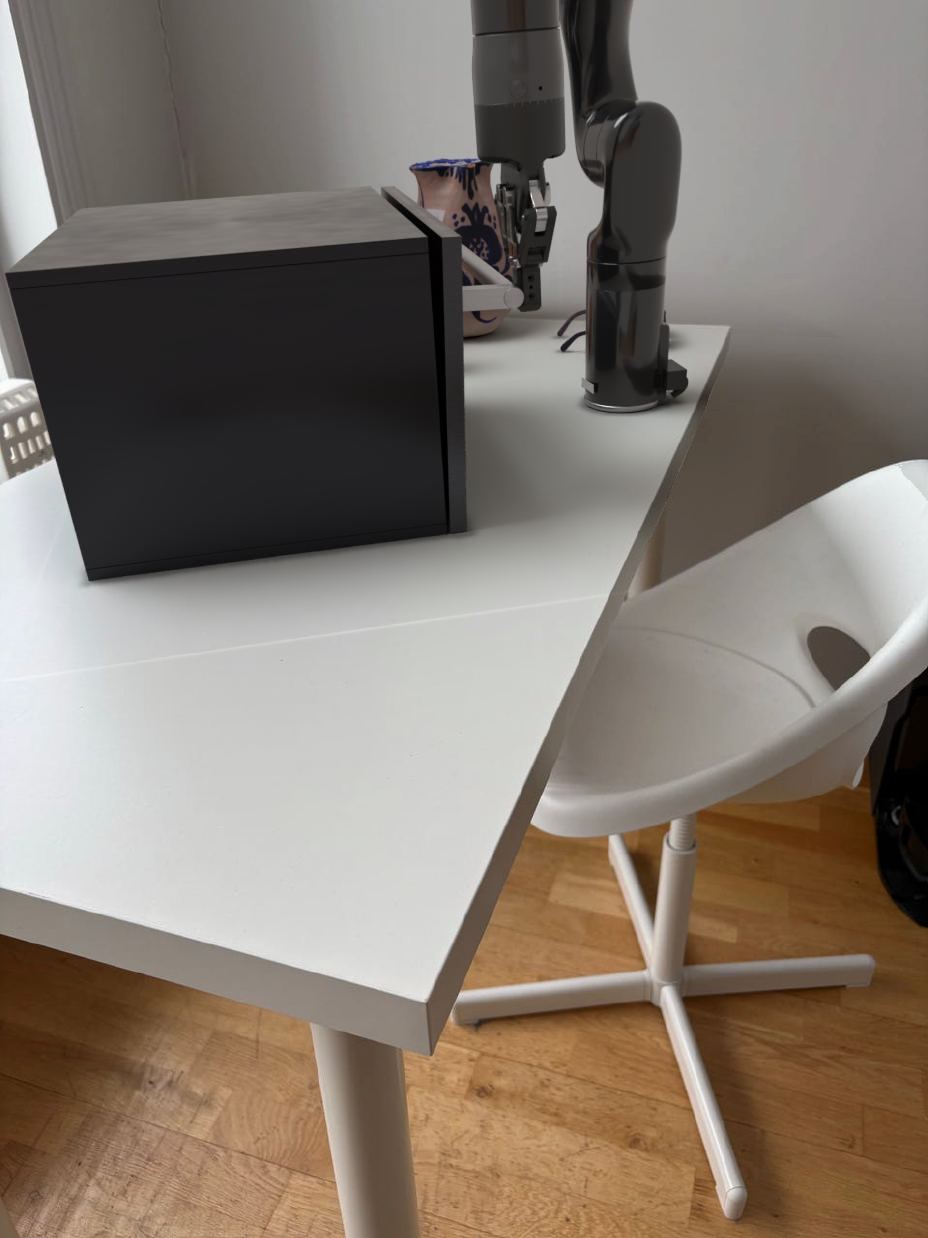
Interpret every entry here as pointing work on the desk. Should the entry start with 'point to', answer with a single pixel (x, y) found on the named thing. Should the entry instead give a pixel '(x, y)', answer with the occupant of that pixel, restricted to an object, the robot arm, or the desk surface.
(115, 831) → the desk surface
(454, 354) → the oven door
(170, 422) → the oven
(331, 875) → the desk surface
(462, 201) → the ceramic pitcher
